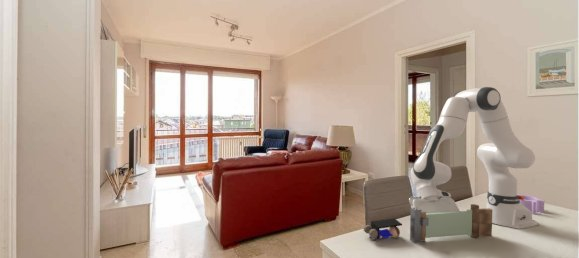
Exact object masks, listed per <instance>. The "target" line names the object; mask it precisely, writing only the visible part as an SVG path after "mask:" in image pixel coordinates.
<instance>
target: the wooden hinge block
mask: <svg viewBox="0 0 579 258" xmlns="http://www.w3.org/2000/svg"><path fill="white" fill-rule="evenodd" d="M470 210H472V235H471V236H469V237H470V238H472V239H479V238H486V237H487V238H488V237H492V235H493V223H492V209H490V208H486V207H485V208H480V205H479V204H475V203H474V204H473V203H471V204H470Z"/></svg>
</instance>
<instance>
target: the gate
mask: <svg viewBox="0 0 579 258" xmlns="http://www.w3.org/2000/svg"><path fill="white" fill-rule="evenodd" d="M421 218H428V219H429V220H428V226H422V225H421V242H426V239H428V238H429V239H430V238H439V237H440V238H441V237H454V236H455V237H456V236H469V237H470V236H471V235H472V210H471V209H466V210H461V211H460V210H459V211H458V212H442V213H426V212H424V211H422V215H421Z"/></svg>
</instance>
